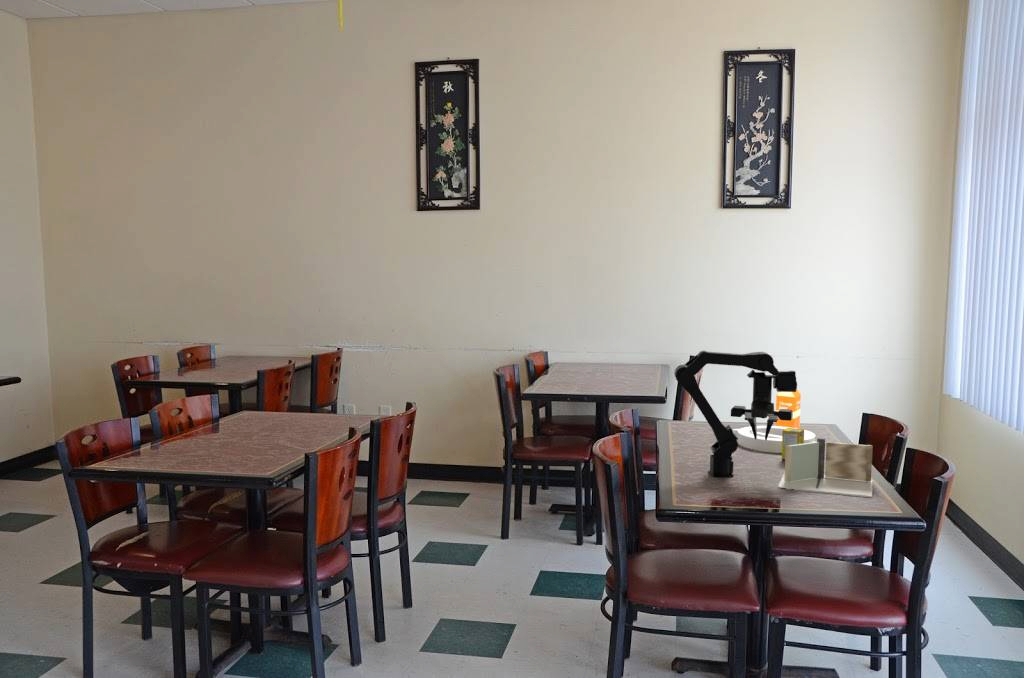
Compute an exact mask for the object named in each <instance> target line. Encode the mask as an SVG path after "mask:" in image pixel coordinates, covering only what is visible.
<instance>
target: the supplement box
mask: <svg viewBox="0 0 1024 678" xmlns="http://www.w3.org/2000/svg"><path fill="white" fill-rule="evenodd" d="M804 430H805V429H803V428H802V429H801V428H799V429H795V428H786V429H784V430H783V432H782V453H781V462H785V446H787V445H796V444H804Z"/></svg>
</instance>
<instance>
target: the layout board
mask: <svg viewBox="0 0 1024 678" xmlns="http://www.w3.org/2000/svg"><path fill="white" fill-rule="evenodd" d="M784 476H785V471H784V472H783V475H782V477H781V479H780V481H779V484H778V485H777V488H778V487H779V488H778V489H781V488H786V489H785V490H791V489H794V491H802V492H811V493H822V494H831V495H841V496H849V497H850V496H851V497H862V498H871V499H872V498H873V481H874V480H873V479H872V478H871V482H867V481H859V480H849V479H838V478H828V477H825V474H824V478H822V479H821V478H810V479H804V480H798V481H791V482H785V481H784Z"/></svg>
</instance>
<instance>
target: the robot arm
mask: <svg viewBox="0 0 1024 678" xmlns="http://www.w3.org/2000/svg"><path fill="white" fill-rule="evenodd" d="M707 364H708V365H722V366H732V367H733V366H735V367H745V368H748V369H751V371H750V372H749V373H747V374H746V376H747V377H748V378H749V379H753V380H752V381H753V383H752V385H753V386H752V401H751V403H750V404H751V405H750V409H749V408H747V407H746V406H745V405H734V406H733V407H731V409H730V417H733V418H741V417H743V415H744V418H743V419H744V420H745V421H747V422H748V423H749V425H750V426H751V428H752V431H753V434H754V437H755V439H757V426H758V425H757V418H758V419H759V418H761V419H766V418H767V417H768V419H767V421H766V426H767V427H766V434H765V440H767V437H768V435H769V432H770V429H771V427H772V426H774V423H776V422H777V421H778V419H780V420H786V421H791V420H792V418H793V411H792V410H791V409H780V410H779V411H776V410H775V403H774V402H772V393H773V392H772V390H773V389H774V390H775V389H776V392H777V393H779V392H796V390H798V382H797V375H796V374H797V373H796V371H795V370H778V368H777V367H776V366H775V365H774V364H775V362H774V359H773V357H772V355H770V354H768V353H767V352H765V351H753V352H748V353H733V352H732V353H730V352H719V351H717V352H716V351H715V352H714V351H708V350H700V351H699V353H698V354H696V355H695V356H693V357H692V358H691V359H689V360H688V361H687V362H686V363H684V364H679V365H678V366H677V367H675V370H674V373H673V374H674V377H675V379H676V381H677V383H678V384H679V385H680V386H681V387H682V388H683V389H684V390H685V392H687V393H688V394H689V395H690V396H691V399H693V401H694V403H695V405H696V406H697V408H698V409H699V411H700V412H701V414H702V416H703V417H704V418H705V419H706V422H707V423H708V425H709V426H710V428H711V430H712V433H713V434H714V437H715V440H716V442H714V443H713V445H711V446H710V449H711V452H712V454H710V455H709V470H708V471H707V473H709V475H711V476H712V475H713V477H714V476H715V477H716V478H722V476H731V477H734V476H735V475H734V460H733V457H732V455H733V454H734V453H735V452H736V451H737V450H738V447H739V444H738V437H737V436H736V435H735V434H734V433H733V431H732V430H733V429H732V427H731V426H730V424H727V425H726V426H725V425H724V424H723V423H722V422H721V420H720V419H719V417H718V416H717V414H716V412H715V411H714V409H713V408H712V406H711V404H710V403H709V401H708V400H707V398H706V396H705V395H704V393H703V392H702V391H701V389H700V386H699V384H698V382H697V378H696V375H697V374H698V373H699V372H700V371H701V370H702V369H703V368H704V367H705V366H706V365H707ZM766 372H768V373H769V374H766ZM772 388H773V389H772ZM750 426H749V427H750ZM715 477H714V478H715Z"/></svg>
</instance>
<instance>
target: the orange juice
mask: <svg viewBox="0 0 1024 678" xmlns="http://www.w3.org/2000/svg"><path fill="white" fill-rule="evenodd" d="M800 393H801V392H800V391H799V390H798V389H797V390H796V392H777V394H776V395H775V396H776V398H775V399H776V400H775V411H779V410H780V409H791V410H792V411H793V418H792V420H791V421H786V420H780V419H778V421H777V422H775V425H774V426H782V427H791V428H798V429H801V428H800V427H801V425H800V422H801V421H800V420H801V394H800Z"/></svg>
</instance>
